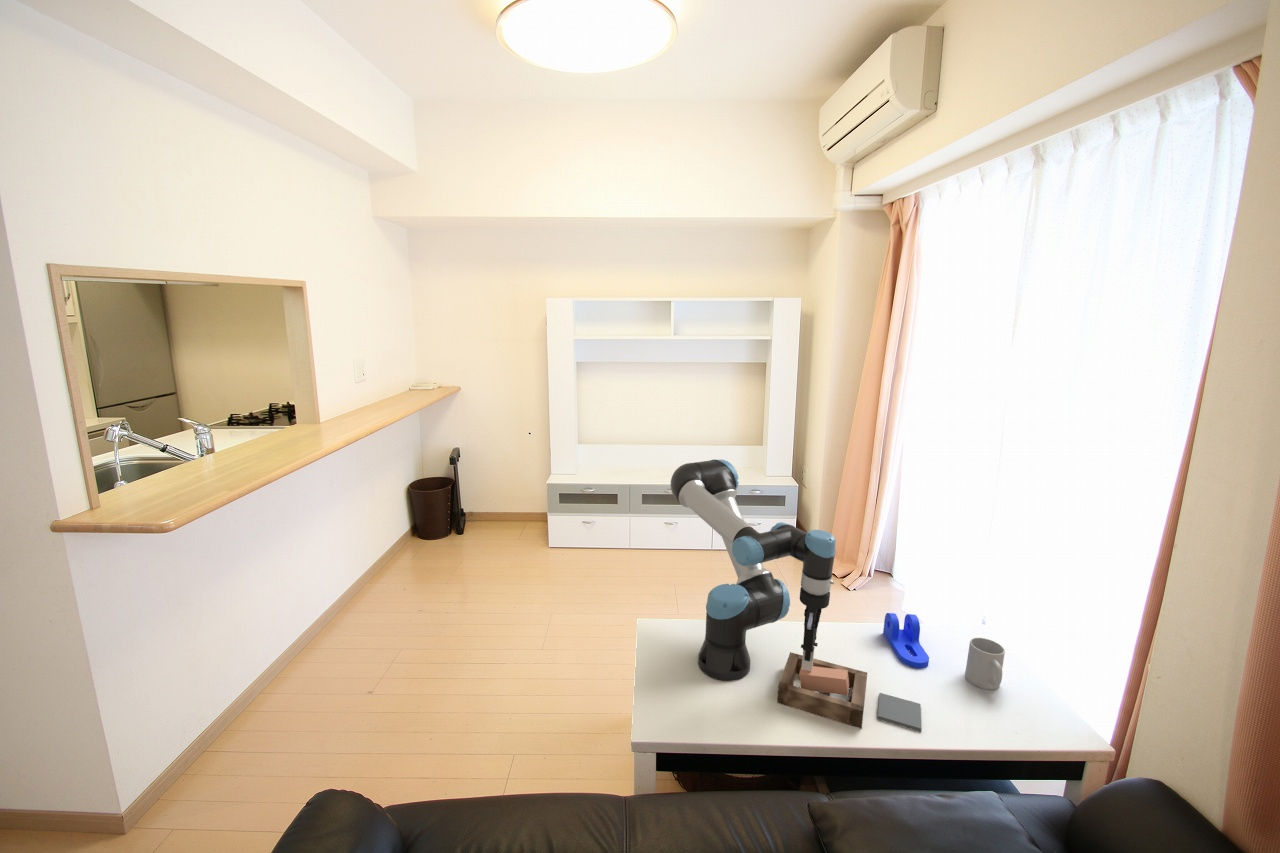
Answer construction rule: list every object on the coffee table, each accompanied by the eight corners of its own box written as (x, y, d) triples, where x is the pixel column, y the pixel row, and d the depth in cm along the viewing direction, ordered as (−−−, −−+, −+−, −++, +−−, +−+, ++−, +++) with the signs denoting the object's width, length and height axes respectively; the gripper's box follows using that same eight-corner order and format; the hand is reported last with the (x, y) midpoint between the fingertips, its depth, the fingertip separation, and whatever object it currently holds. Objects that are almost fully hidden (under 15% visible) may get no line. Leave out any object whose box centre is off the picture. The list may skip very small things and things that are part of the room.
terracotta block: (801, 689, 149) (799, 673, 149) (803, 680, 153) (801, 664, 153) (847, 695, 144) (846, 679, 143) (849, 685, 148) (847, 670, 147)
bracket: (882, 634, 180) (885, 608, 178) (909, 635, 179) (912, 610, 177) (903, 668, 162) (907, 640, 161) (933, 670, 162) (936, 642, 160)
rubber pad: (877, 719, 141) (878, 715, 141) (879, 695, 150) (879, 692, 149) (921, 732, 137) (921, 728, 136) (920, 707, 145) (920, 703, 145)
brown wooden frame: (777, 702, 146) (778, 686, 145) (788, 667, 161) (790, 652, 160) (861, 728, 137) (863, 711, 136) (865, 688, 152) (867, 672, 151)
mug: (959, 670, 162) (964, 636, 159) (989, 672, 161) (994, 638, 159) (980, 697, 150) (986, 661, 148) (1013, 699, 149) (1019, 663, 147)
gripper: (827, 603, 138) (817, 686, 142) (833, 582, 149) (824, 659, 154) (796, 596, 141) (788, 677, 145) (804, 575, 152) (796, 651, 157)
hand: (806, 668), depth 150 cm, fingers closed
